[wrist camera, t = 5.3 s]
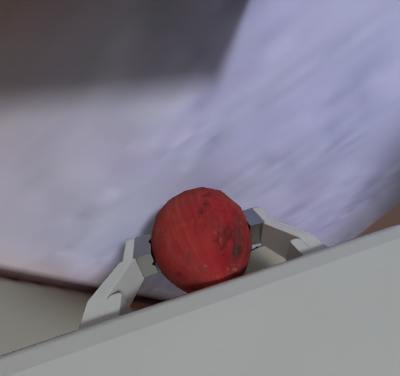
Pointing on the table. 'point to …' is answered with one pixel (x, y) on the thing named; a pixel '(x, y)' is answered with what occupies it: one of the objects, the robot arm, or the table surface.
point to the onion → (201, 239)
